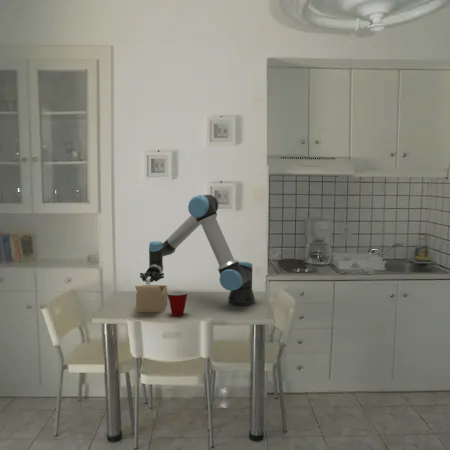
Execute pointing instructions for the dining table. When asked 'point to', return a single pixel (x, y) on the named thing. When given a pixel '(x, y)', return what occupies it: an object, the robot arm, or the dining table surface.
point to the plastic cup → (177, 302)
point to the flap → (148, 289)
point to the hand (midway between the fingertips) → (147, 282)
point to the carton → (152, 300)
